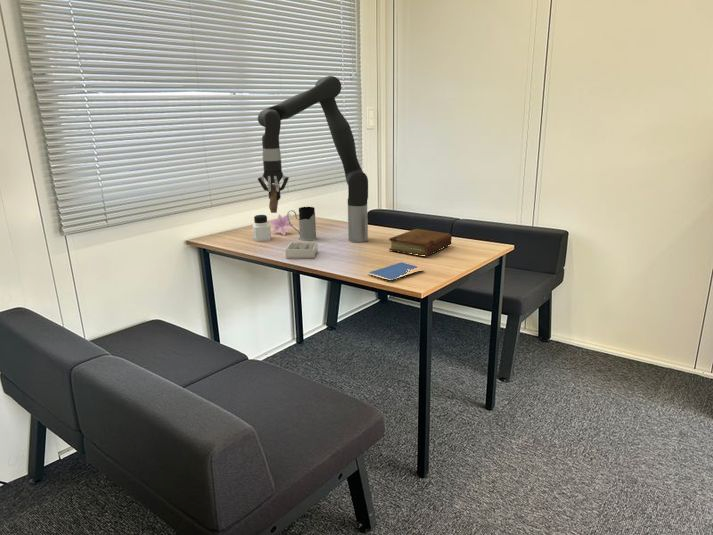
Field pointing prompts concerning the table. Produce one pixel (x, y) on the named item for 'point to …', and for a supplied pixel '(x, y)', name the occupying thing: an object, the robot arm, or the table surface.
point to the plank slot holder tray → (301, 250)
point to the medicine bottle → (261, 228)
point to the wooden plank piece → (273, 200)
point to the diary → (420, 242)
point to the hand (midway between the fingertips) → (274, 200)
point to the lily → (281, 224)
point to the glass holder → (306, 223)
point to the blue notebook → (393, 270)
